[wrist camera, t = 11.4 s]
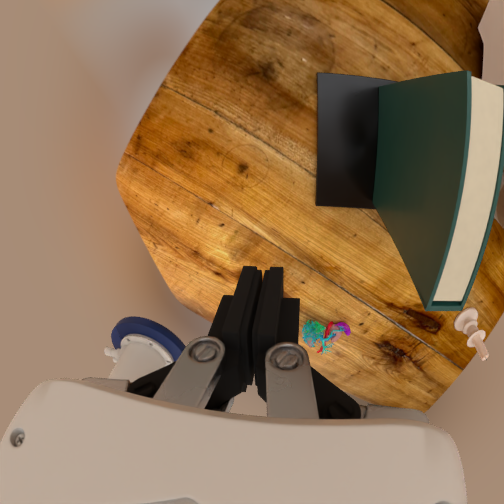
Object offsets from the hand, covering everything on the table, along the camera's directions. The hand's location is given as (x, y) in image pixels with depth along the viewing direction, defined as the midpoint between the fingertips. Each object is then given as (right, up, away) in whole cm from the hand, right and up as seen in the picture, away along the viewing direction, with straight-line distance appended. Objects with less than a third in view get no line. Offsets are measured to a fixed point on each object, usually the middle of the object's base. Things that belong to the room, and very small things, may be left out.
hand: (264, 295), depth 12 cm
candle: (+38, -10, +27) cm, 48 cm away
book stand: (+13, +15, +18) cm, 26 cm away
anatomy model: (+11, -11, +32) cm, 36 cm away
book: (+12, +9, +8) cm, 17 cm away
